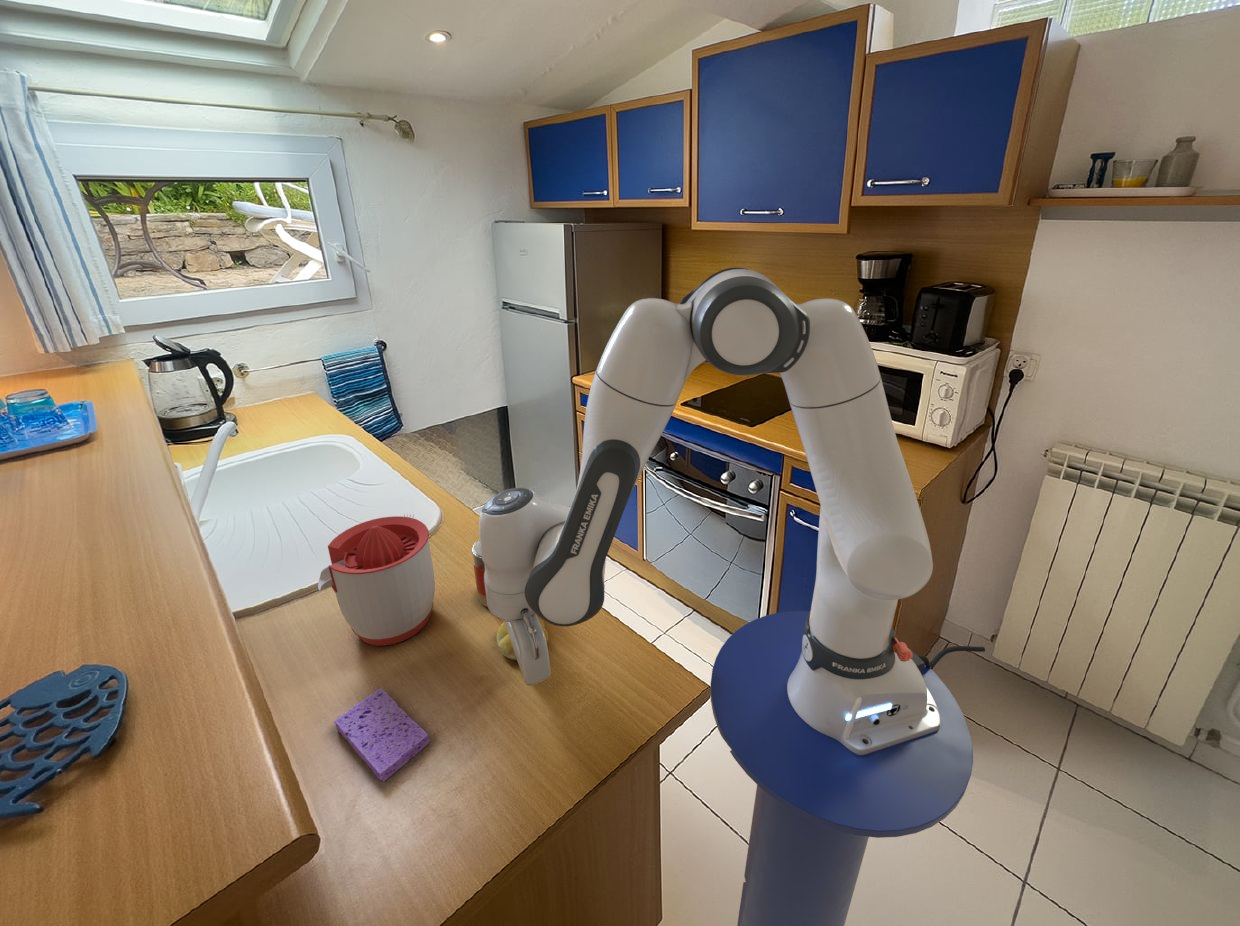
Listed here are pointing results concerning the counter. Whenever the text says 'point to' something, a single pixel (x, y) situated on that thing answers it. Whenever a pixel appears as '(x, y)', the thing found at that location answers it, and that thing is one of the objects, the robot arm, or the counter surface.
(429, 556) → the citrus juicer
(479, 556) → the tin can
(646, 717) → the counter surface
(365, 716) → the sponge
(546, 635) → the bread roll
